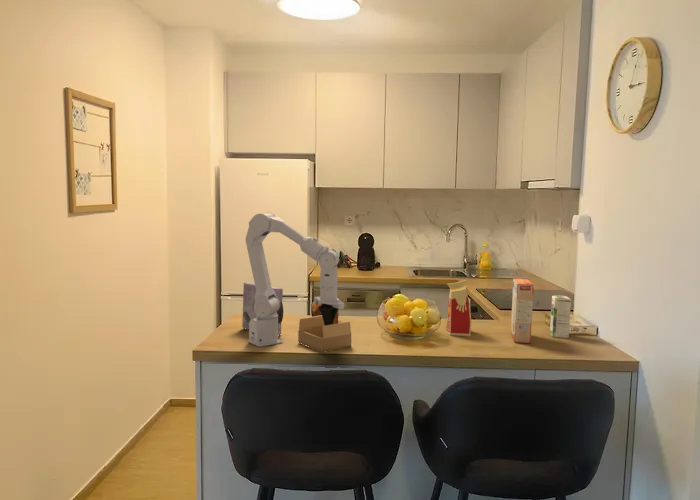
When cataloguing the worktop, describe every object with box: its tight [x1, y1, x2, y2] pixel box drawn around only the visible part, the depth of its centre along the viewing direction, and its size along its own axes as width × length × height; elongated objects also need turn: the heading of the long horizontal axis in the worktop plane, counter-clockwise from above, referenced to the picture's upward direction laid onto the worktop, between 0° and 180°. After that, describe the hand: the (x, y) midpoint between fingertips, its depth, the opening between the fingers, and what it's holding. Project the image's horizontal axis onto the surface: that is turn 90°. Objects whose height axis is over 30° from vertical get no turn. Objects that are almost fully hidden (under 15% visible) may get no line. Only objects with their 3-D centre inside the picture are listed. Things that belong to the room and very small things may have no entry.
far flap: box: [298, 315, 325, 330], centre depth 190 cm, size 11×4×1 cm
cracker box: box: [510, 278, 535, 344], centre depth 196 cm, size 14×6×21 cm, turn 168°
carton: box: [297, 326, 352, 353], centre depth 185 cm, size 12×14×4 cm
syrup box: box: [549, 295, 572, 339], centre depth 201 cm, size 6×6×14 cm
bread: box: [310, 301, 340, 324], centre depth 215 cm, size 19×11×10 cm, turn 3°
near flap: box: [322, 321, 352, 339], centre depth 180 cm, size 11×4×1 cm
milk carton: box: [445, 279, 472, 337], centre depth 204 cm, size 9×9×20 cm
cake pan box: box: [241, 281, 284, 335], centre depth 201 cm, size 19×5×18 cm, turn 47°
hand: (328, 327), depth 183 cm, fingers closed
